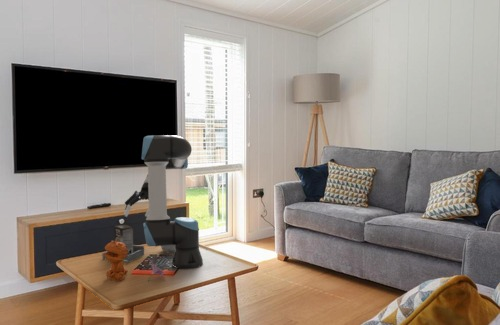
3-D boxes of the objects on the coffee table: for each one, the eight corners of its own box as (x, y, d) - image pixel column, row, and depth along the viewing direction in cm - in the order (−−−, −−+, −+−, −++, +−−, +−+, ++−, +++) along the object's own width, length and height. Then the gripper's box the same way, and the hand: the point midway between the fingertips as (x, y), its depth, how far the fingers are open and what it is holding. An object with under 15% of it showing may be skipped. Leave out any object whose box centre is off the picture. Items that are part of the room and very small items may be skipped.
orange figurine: (101, 277, 201) (100, 238, 200) (125, 273, 206) (124, 235, 205) (106, 284, 191) (105, 244, 190) (131, 280, 197) (130, 240, 195)
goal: (144, 255, 236) (143, 245, 236) (128, 262, 223) (128, 252, 223) (118, 252, 241) (118, 243, 241) (102, 259, 228) (102, 250, 228)
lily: (163, 287, 190) (172, 266, 193) (137, 278, 189) (146, 257, 192) (163, 287, 201) (171, 266, 204) (139, 278, 200) (147, 257, 203)
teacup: (176, 254, 236) (175, 240, 236) (157, 253, 239) (156, 239, 238) (185, 247, 250) (184, 234, 249) (167, 246, 252) (166, 233, 252)
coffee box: (114, 255, 233) (113, 225, 232) (125, 253, 238) (124, 224, 236) (122, 259, 227) (121, 228, 225) (133, 256, 231) (133, 226, 230)
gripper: (170, 190, 254) (158, 221, 241) (133, 188, 262) (119, 218, 249) (166, 182, 249) (152, 213, 236) (128, 181, 257) (113, 211, 244)
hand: (135, 216), depth 242 cm, fingers open, 13 cm apart
